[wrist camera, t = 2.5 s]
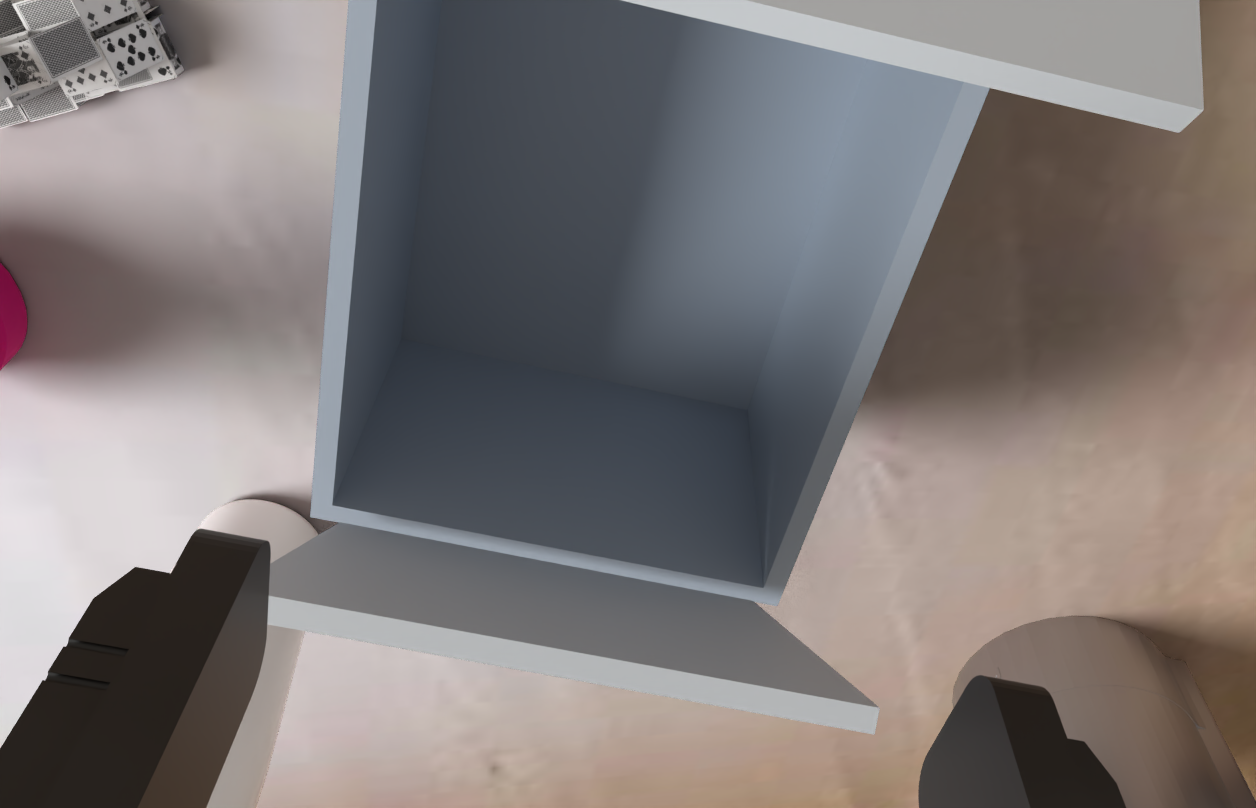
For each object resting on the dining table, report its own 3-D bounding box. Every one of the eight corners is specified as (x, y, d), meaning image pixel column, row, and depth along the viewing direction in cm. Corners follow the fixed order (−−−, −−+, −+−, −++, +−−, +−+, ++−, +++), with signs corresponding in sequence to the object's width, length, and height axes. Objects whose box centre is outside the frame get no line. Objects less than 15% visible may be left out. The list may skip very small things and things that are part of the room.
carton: (1054, -431, 27) (1219, -472, 19) (757, 417, 41) (776, 606, 33) (490, -590, 26) (401, -710, 18) (386, 340, 40) (309, 517, 32)
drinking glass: (184, 462, 44) (-14, 780, 31) (354, 497, 44) (227, 822, 32) (183, 584, 47) (6, 912, 35) (340, 614, 48) (221, 946, 36)
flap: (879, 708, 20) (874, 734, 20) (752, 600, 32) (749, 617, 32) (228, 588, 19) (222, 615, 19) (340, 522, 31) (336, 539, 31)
